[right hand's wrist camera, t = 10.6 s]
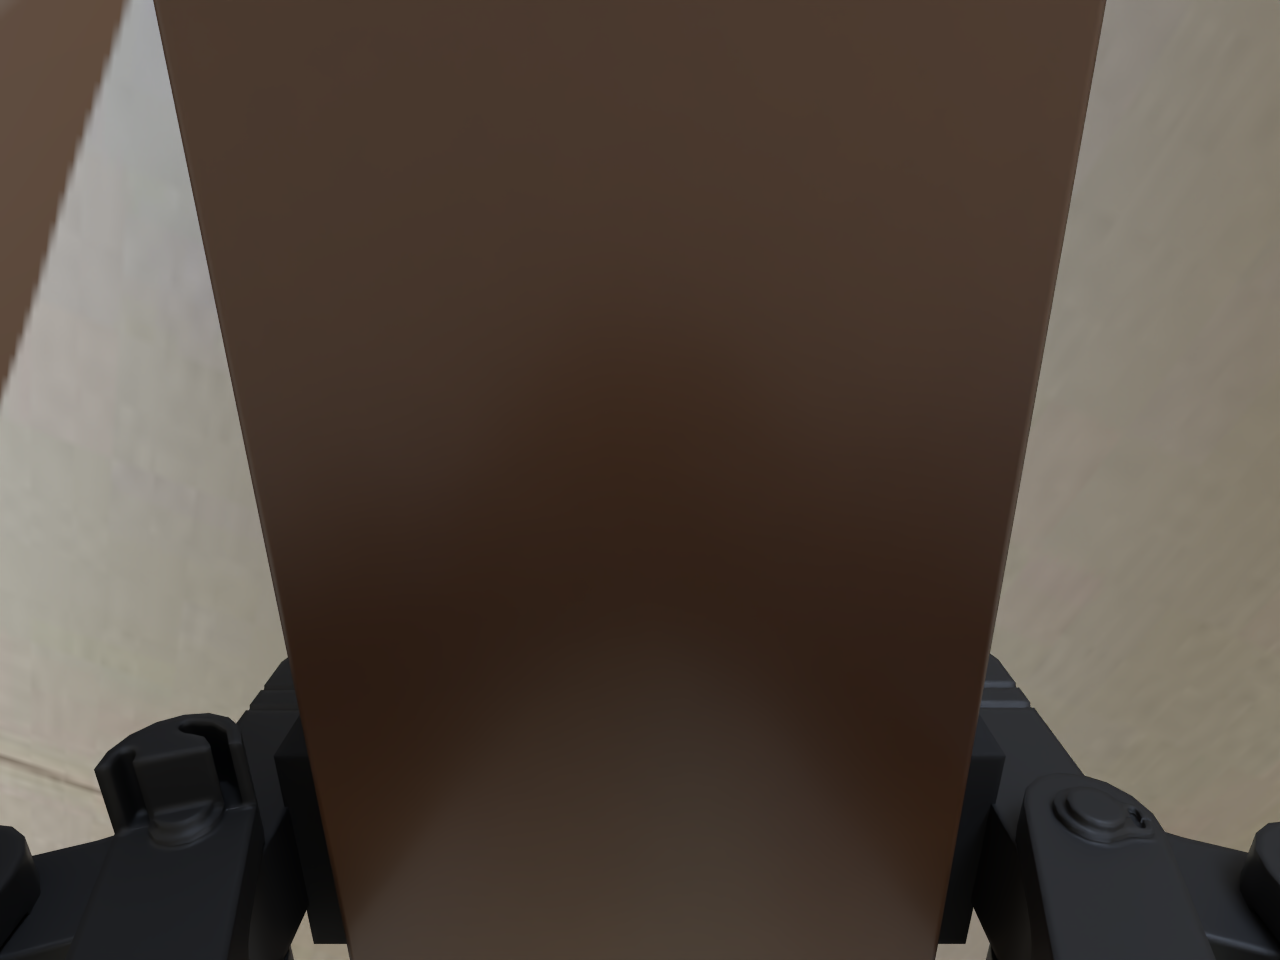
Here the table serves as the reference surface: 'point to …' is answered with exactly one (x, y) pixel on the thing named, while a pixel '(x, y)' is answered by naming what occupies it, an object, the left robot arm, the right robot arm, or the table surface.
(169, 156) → the table surface
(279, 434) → the beam
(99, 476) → the table surface
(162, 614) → the table surface
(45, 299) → the table surface
